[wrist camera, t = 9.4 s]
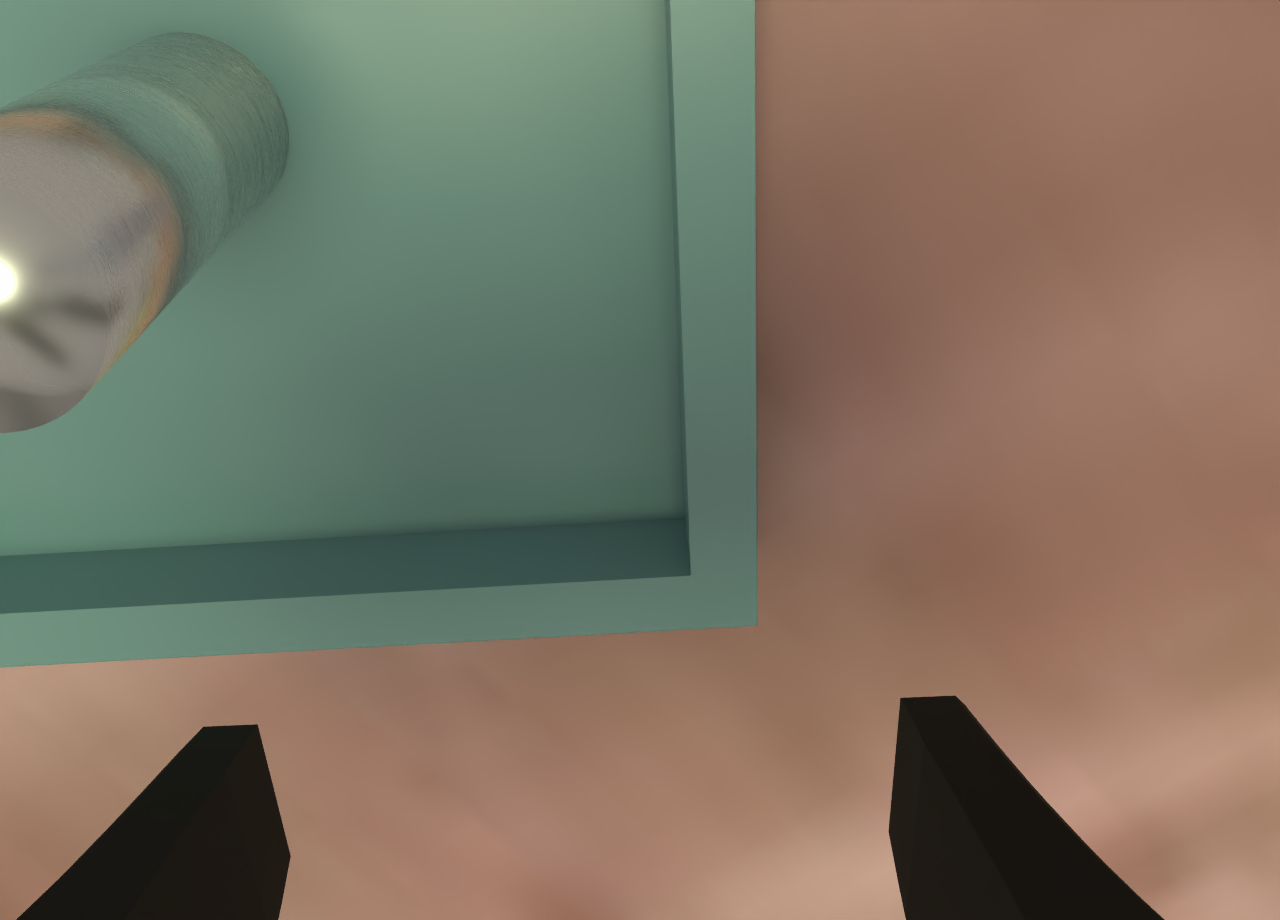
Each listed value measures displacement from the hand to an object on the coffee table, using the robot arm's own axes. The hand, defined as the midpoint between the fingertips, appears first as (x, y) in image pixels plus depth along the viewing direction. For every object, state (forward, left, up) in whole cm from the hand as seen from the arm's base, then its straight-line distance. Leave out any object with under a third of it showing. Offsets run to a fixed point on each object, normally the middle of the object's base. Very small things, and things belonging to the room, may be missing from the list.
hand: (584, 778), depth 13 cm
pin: (+6, -5, -10) cm, 13 cm away
